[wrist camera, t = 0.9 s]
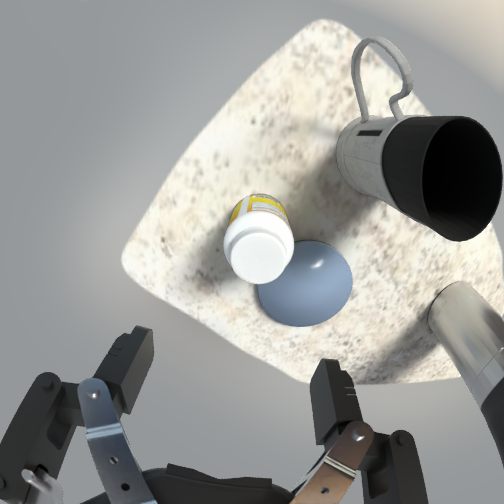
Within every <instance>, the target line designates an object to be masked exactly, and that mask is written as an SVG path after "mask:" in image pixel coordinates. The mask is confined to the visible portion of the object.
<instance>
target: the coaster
mask: <svg viewBox="0 0 504 504" xmlns="http://www.w3.org/2000/svg"><path fill="white" fill-rule="evenodd" d="M352 284H353V279H352V273H351V270H350V267H349V265H348V263H347V262H346V260H345V258H344V257H343V256H342V254H341V253H340V252H339V251H337V250H336V249H335V248H333V247H332V246H330V245H328V244H325V243H322V242H318V241H298V242H294V251H293V255H292V257H291V260H290V261H289V263H288V264H287V266H286V267H285V268H284V270H283V272H282V273H281V274H280V275H279V277H277V278H276V279H275V280H273V281H271V282H268V283H265V284H258V295H259V300H260V302H261V304H262V306H263V308H264V309H265V311H266V312H267V313H268V314H269V315H270V316H271V317H272V318H274V319H275V320H277V321H279V322H281V323H283V324H286V325H290V326H297V327H305V326H312V325H316V324H319V323H322V322H324V321H326V320H328V319H330V318H331V317H333V316H334V315H336V314H337V313H338V312H339V311H340V310H341V309H342V308H343V306H344V305H345V304H346V302H347V300H348V298H349V296H350V294H351V290H352Z"/></svg>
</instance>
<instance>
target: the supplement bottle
mask: <svg viewBox="0 0 504 504" xmlns="http://www.w3.org/2000/svg"><path fill="white" fill-rule="evenodd" d="M223 248H224V253H225V256H226V259H227V261H228V262H229V264H230V265H231V266H232V268H233V270H234V272H235V273H236V274H237V276H239V277H240V278H241V279H242V280H244V281H246V282H249V283H252V284H265V283H268V282H271V281H273V280H275V279H276V278H277V277H279V275H280V274H281V273H282V272H283V270H284V268H285V267H286V266H287V264H288V263H289V261H290V260H291V257H292V255H293V251H294V238H293V234H292V231H291V228H290V225H289V222H288V219H287V216H286V213H285V210H284V208H283V206H282V205H281V204H280V202H279V201H278V200H276V199H275V198H274V197H272V196H270V195H267V194H260V193H258V194H252V195H249V196H247V197H245V198H243V199H242V200H241V201H240V202H239V203H238V204H237V206H236V207H235V209H234V211H233V214H232V217H231V219H230V222H229V225H228V228H227V230H226V233H225V236H224V242H223Z"/></svg>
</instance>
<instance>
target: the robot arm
mask: <svg viewBox="0 0 504 504" xmlns="http://www.w3.org/2000/svg"><path fill="white" fill-rule="evenodd" d="M428 324H429V326H430V328H431V329H432V331H433V332H434V334H435V335H436V337H437V338H438V340H439V341H440V343H441V344H442V346H443V347H444V349H445V350H446V352H447V354H448V355H449V357H450V358H451V360H452V361H453V363H454V365H455V366H456V368H457V369H458V371H459V373H460V374H461V376H462V378H463V379H464V381H465V383H466V385H467V386H468V388H469V390H470V392H471V393H472V395H473V397H474V398H475V400H476V402H477V404H478V406H479V408H480V410H481V412H482V413H483V415H484V417H485V419H486V422H487V424H488V427H489V429H490V431H491V434H492V436H493V438H494V440H495V443H496V445H497V448H498V451H499V454H500V457H501V460H502V463H503V467H504V319H503V318H502V317H501V316H500V315H499V313H498V312H497V311H496V310H495V309H494V308H493V307H492V306H491V305H490V304H489V303H488V302H487V301H486V300H485V299H484V298H483V297H482V296H481V295H480V294H479V293H478V292H477V291H476V290H475V289H474V288H473V287H472V286H471V285H470V284H469V283H467V282H464V281H459V282H455V283H453V284H451V285H450V286H448V287H447V288H446V289H444V290H443V291H442V292H441V293H440V294H439V295H438V297H437V298H436V300H435V301H434V303H433V305H432V306H431V309H430V311H429V315H428ZM153 356H154V346H153V332H152V329H149V328H145V327H141V326H135V328H134V330H133V331H132V333H131V334H126V333H124V334H122V335H121V336H120V337H118V338H117V339H116V340H115V342H114V343H113V345H112V348H110V350H109V352H108V354H107V355H106V356H105V358H104V360H103V361H102V363H101V364H100V366H99V368H98V369H97V371H96V373H95V374H94V376H93V377H92V378H89V379H86V380H84V381H82V382H81V383H80V384H75V383H66V382H61V380H60V378H59V377H58V376H57V375H55V374H54V373H51V372H45V373H42V374H40V375H39V376H38V377H37V378H36V379H35V381H34V382H33V384H32V386H31V387H30V389H29V391H28V392H27V394H26V396H25V398H24V399H23V401H22V403H21V405H20V406H19V408H18V410H17V412H16V414H15V415H14V417H13V419H12V421H11V423H10V425H9V427H8V429H7V431H6V433H5V435H4V437H3V439H2V441H1V444H0V499H1V500H3V501H5V502H7V503H8V504H63V490H62V487H61V485H60V484H59V483H58V481H57V480H56V479H57V477H58V474H59V471H60V468H61V465H62V463H63V460H64V457H65V454H66V452H67V449H68V446H69V444H70V441H71V439H72V436H73V434H74V432H75V429H76V427H77V426H83V427H86V430H87V433H86V438H87V442H88V445H89V448H90V452H91V454H92V457H93V460H94V463H95V466H96V469H97V471H98V474H99V476H100V479H101V481H102V484H103V486H104V489H105V491H106V492H104V493H102V494H100V495H98V496H96V497H94V498H91V499H89V500H87V501H85V502H83V503H80V504H338V503H339V502H340V501H341V499H342V498H343V496H344V495H345V493H346V492H347V490H348V489H349V487H350V486H351V484H352V482H353V481H354V479H355V477H356V474H355V471H356V470H360V471H361V476H362V486H363V497H364V504H428V499H427V493H426V488H425V483H424V478H423V473H422V469H421V465H420V460H419V456H418V453H417V448H416V445H415V441H414V438H413V436H412V435H411V434H410V433H409V432H407V431H405V430H397V431H395V432H393V433H392V434H391V435H387V434H382V433H377V432H374V431H373V429H372V428H371V426H370V425H368V424H367V423H365V422H364V421H363V418H362V414H361V410H360V407H359V403H358V399H357V396H356V392H355V389H354V384H353V381H352V378H351V377H350V375H349V374H348V373H347V371H344V370H341V369H340V365H339V362H338V360H335V359H321V361H320V362H319V365H318V367H317V369H316V371H315V373H314V375H313V377H312V379H311V382H310V395H311V403H312V410H313V419H314V428H315V437H316V445H324V447H325V450H324V451H323V453H322V454H321V455H320V457H319V458H318V459H317V461H316V462H315V463H314V464H313V466H312V467H311V468H310V469H309V471H308V472H307V473H306V474H305V476H304V477H303V478H302V479H301V480H300V481H299V482H298V483H297V484H296V485H295V486H294V487H293V488H292V489H291V490H290V491H288V490H286V489H284V488H282V487H280V486H277V485H275V484H272V479H269V478H254V477H242V478H231V479H217V478H214V477H211V476H209V475H206V474H204V473H201V472H199V471H197V470H194V469H191V468H186V467H182V466H177V465H173V464H169V463H168V465H167V468H155V469H150V470H146V471H142V469H141V467H140V465H139V463H138V461H137V459H136V457H135V455H134V453H133V451H132V449H131V446H130V444H129V441H128V439H127V437H126V434H125V432H124V429H123V427H122V424H121V421H120V418H121V415H122V413H126V414H130V413H131V411H132V408H133V406H134V404H135V401H136V399H137V396H138V394H139V392H140V389H141V387H142V384H143V382H144V380H145V377H146V375H147V372H148V370H149V368H150V366H151V364H152V361H153Z"/></svg>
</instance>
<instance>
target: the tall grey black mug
mask: <svg viewBox="0 0 504 504" xmlns="http://www.w3.org/2000/svg"><path fill="white" fill-rule="evenodd" d="M370 42H372V43H377V44H378V45H380V46H381V47H383V48H384V49H385V50H386V51H387V52H388V53H389V54H390V55H391V56H392V58H393V59H394V60H395V62H396V63H397V65H398V67H399V69H400V71H401V74H402V79H403V88H402V90H401V92H400V93H398V94H396V95H394V96H392V97H391V98H390V100H389V105H390V108H391V111H392V113H393V115H394V117H386V118H382V117H379V116H374V115H369V114H368V108H367V104H366V100H365V96H364V92H363V87H362V82H361V77H360V61H361V55H362V53H363V50H364V48H365V47H366V46H367V45H368V44H369V43H370ZM351 75H352V80H353V84H354V88H355V92H356V96H357V100H358V103H359V107H360V111H361V116H362V117H359V118H357V119H354V120H353V121H352V122H350V123H349V124H348V125H347V126H346V127H345V128H344V130H343V131H342V133H341V134H340V137H339V139H338V143H337V147H336V158H337V164H338V168H339V170H340V173H341V175H342V176H343V178H344V179H345V181H346V182H347V183H348V184H349V185H350V186H351V187H352V188H353V189H355V190H356V191H358V192H360V193H362V194H365V195H370V196H375V197H377V198H378V199H380V200H382V201H384V202H385V203H387V204H389V205H390V206H392V207H393V208H395V209H397V210H398V211H400V212H401V213H403V214H405V215H406V216H408V217H410V218H411V219H413V220H414V221H417V222H419V223H421V224H423V225H426V226H428V227H429V228H431V229H432V230H434V231H435V232H437V233H438V234H440V235H441V236H443V237H444V238H446V239H448V240H451V241H458V242H461V241H467V240H469V239H471V238H474V237H475V236H477V235H478V234H480V233H481V232H482V231H483V230H484V229H485V228H486V227H487V225H488V224H489V223H490V221H491V220H492V218H493V216H494V214H495V212H496V209H497V207H498V204H499V201H500V197H501V191H502V180H503V174H502V164H501V159H500V155H499V152H498V149H497V146H496V144H495V142H494V140H493V138H492V137H491V135H490V134H489V132H488V131H487V130H486V129H485V128H484V127H483V126H482V125H481V124H480V123H478V122H477V121H476V120H473V119H471V118H469V117H464V116H429V117H428V116H425V115H406V116H404V115H403V113H402V111H401V109H400V107H399V104H398V100H399V99H402V98H404V97H406V96H407V95H409V93H410V92H411V90H412V89H413V76H412V71H411V69H410V66H409V64H408V62H407V61H406V59H405V57H404V56H403V54H402V53H401V52H400V51H399V50H398V49H397V48H396V47H395V45H394V44H393V43H391V42H389V41H388V40H386V39H385V38H383V37H379V36H372V37H369V38H367V39H364V40H362V41H361V42H360V43H359V44H358V45H357V47H356V48H355V50H354V53H353V55H352V62H351Z"/></svg>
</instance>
